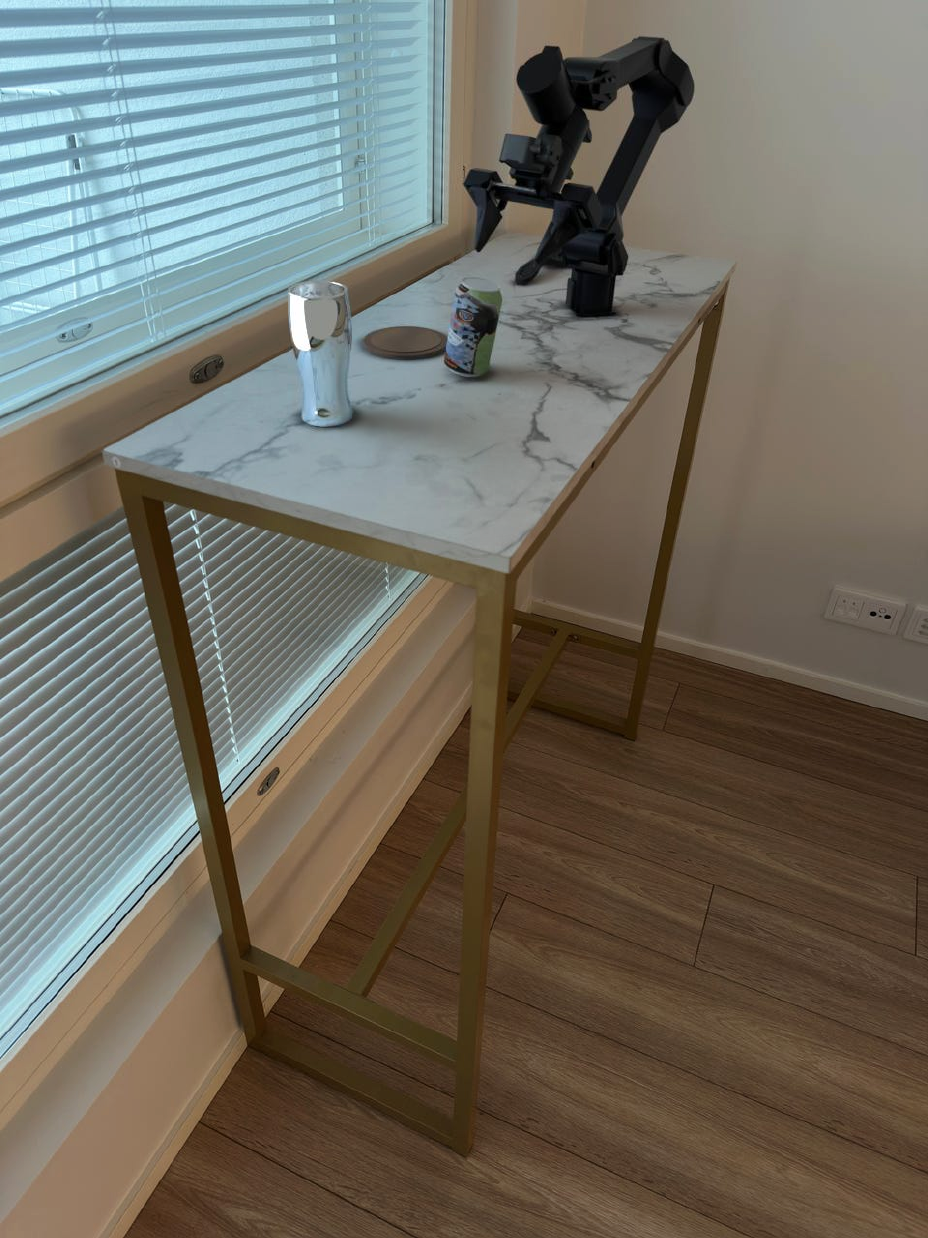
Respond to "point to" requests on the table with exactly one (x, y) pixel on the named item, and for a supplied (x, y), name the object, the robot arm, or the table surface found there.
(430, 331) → the coaster
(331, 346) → the beer glass
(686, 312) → the table surface
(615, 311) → the robot arm
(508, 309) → the table surface
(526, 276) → the hairbrush
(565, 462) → the table surface
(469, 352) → the beverage can
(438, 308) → the table surface
